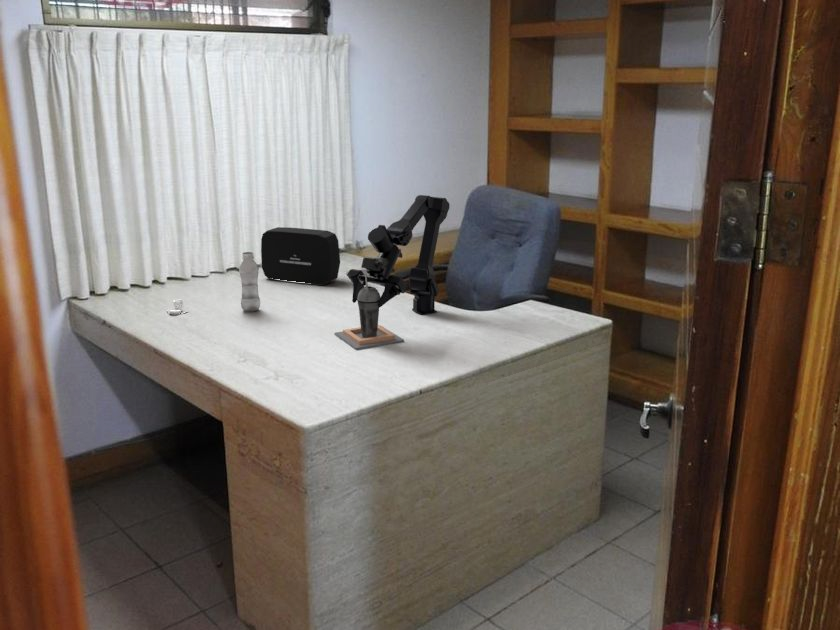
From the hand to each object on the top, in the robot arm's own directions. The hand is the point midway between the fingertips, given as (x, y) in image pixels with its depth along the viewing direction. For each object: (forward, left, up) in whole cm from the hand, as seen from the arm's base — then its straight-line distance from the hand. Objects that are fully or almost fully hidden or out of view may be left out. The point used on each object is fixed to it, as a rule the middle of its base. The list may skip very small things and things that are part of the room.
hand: (365, 304), depth 233 cm
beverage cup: (-1, -1, -11) cm, 11 cm away
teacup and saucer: (+46, -57, -12) cm, 74 cm away
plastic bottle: (+22, -46, -11) cm, 52 cm away
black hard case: (-9, -78, -11) cm, 79 cm away
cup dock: (-1, -1, -11) cm, 11 cm away
